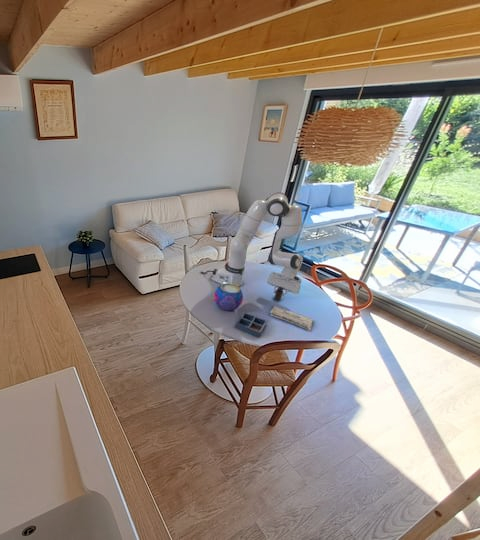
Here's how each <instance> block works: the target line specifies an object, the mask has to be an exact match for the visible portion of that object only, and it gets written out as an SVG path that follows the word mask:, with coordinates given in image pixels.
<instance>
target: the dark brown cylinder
mask: <svg viewBox="0 0 480 540" xmlns="http://www.w3.org/2000/svg"><path fill="white" fill-rule="evenodd" d="M275 290H276V293H274V297H273V300H275V301H278V302H280V301H281V300H282V297H283V296H282V293H284V290H283V288H282V287H277V288H276V289H275Z"/></svg>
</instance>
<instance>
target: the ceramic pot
mask: <svg viewBox="0 0 480 540" xmlns="http://www.w3.org/2000/svg"><path fill="white" fill-rule="evenodd" d="M213 297H214V298H213V299H214V302H215V304H216V306H217V307H219V308H220V309H222V310H225V311H234V310H236V309H238V308H239V307H240V306H241V305H242V303H243V301H244V294H243V291H242V289H241V288H240V286H239V287H238V286H236V285H234V284H231V283H224V284H219V285H218V286H217V287H216V289H215V291H214V292H213Z"/></svg>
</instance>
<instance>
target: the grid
mask: <svg viewBox="0 0 480 540" xmlns="http://www.w3.org/2000/svg"><path fill="white" fill-rule="evenodd" d="M267 323H268V320H266V319H263V318H262V317H258V316H255V315H252V314H250V313H248V312H245V311H244V312H243V314H242V315H241V316H240V318H239V319H238V320H237V322H236V324H235V325H236V326H235V329H237V330H240V331H243V332H244V333H248V334H250V335H252V336H254V337H258V338H260V336H262V335H261V334H263V331H264V330H265V328H266V326H267Z"/></svg>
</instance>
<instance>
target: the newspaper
mask: <svg viewBox="0 0 480 540" xmlns="http://www.w3.org/2000/svg"><path fill="white" fill-rule="evenodd" d="M269 314H270V316H272V317H274V318H277V319H280V320H282V321H283V320H284V321H286V322H288V323H291V324H293V325H296V326H298V327H301V328H302V329H305V330H307V331H311V329H312V326H313V321H314V319H312V318H310V317H307V316H304V315H301V314H299V313H295V312H294V311H290V310H287V309H284V308H282V307H279V306H276V305H274V306H273V307H272V309H271V310H270V312H269Z"/></svg>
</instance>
